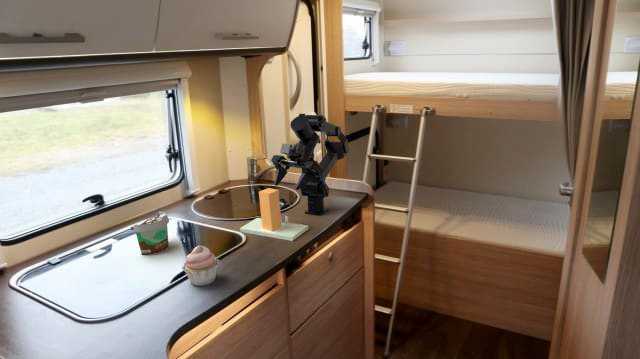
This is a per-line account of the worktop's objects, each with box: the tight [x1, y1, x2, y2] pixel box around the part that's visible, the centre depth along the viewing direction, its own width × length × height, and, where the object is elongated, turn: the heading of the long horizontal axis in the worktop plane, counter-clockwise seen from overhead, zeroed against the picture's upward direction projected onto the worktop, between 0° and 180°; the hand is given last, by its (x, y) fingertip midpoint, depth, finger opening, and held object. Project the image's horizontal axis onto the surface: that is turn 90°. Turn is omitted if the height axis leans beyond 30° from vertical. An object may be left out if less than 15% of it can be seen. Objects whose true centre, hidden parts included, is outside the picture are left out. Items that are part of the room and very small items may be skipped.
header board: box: [239, 215, 309, 242], centre depth 147 cm, size 10×20×4 cm, turn 62°
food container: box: [133, 211, 170, 256], centre depth 137 cm, size 12×6×10 cm, turn 161°
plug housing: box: [258, 187, 282, 232], centre depth 145 cm, size 4×4×13 cm
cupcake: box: [181, 245, 220, 287], centre depth 116 cm, size 9×9×10 cm
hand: (285, 187), depth 146 cm, fingers open, 9 cm apart
